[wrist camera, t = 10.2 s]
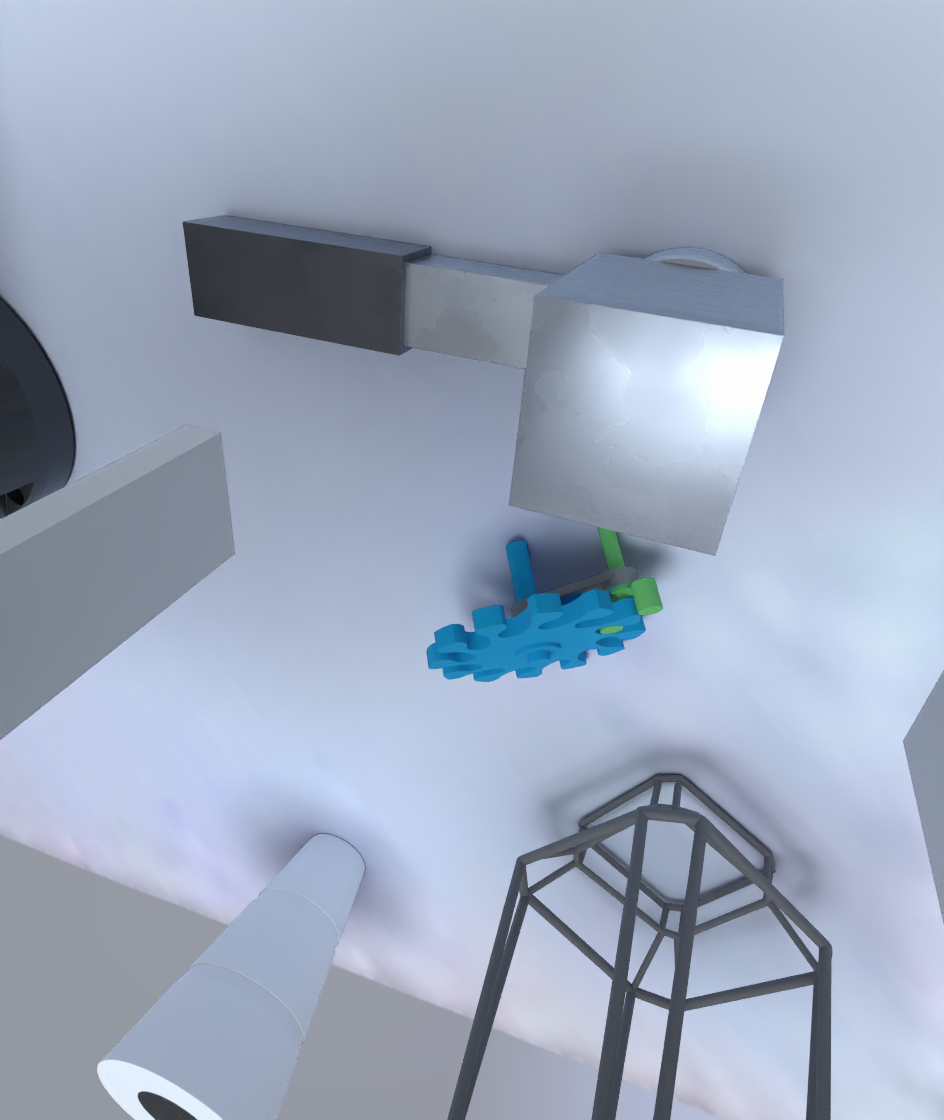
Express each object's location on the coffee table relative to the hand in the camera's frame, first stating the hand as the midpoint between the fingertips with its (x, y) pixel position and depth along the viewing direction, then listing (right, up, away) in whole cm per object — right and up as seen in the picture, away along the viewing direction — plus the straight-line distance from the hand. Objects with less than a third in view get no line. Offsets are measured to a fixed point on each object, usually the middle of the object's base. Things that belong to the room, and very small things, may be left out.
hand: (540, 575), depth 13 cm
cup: (-11, -22, +42) cm, 49 cm away
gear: (+3, -1, +23) cm, 23 cm away
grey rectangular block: (+6, +7, +13) cm, 16 cm away
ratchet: (-1, +11, +17) cm, 20 cm away
